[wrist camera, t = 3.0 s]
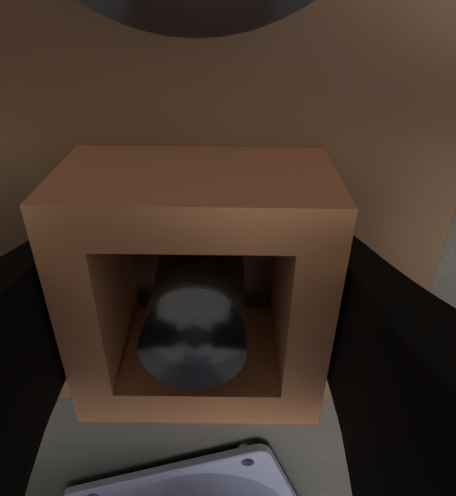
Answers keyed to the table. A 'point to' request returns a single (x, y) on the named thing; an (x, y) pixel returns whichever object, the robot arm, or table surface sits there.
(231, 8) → the hub
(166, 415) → the collar
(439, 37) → the walnut board
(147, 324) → the stand rod
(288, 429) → the table surface
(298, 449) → the table surface
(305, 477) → the table surface
